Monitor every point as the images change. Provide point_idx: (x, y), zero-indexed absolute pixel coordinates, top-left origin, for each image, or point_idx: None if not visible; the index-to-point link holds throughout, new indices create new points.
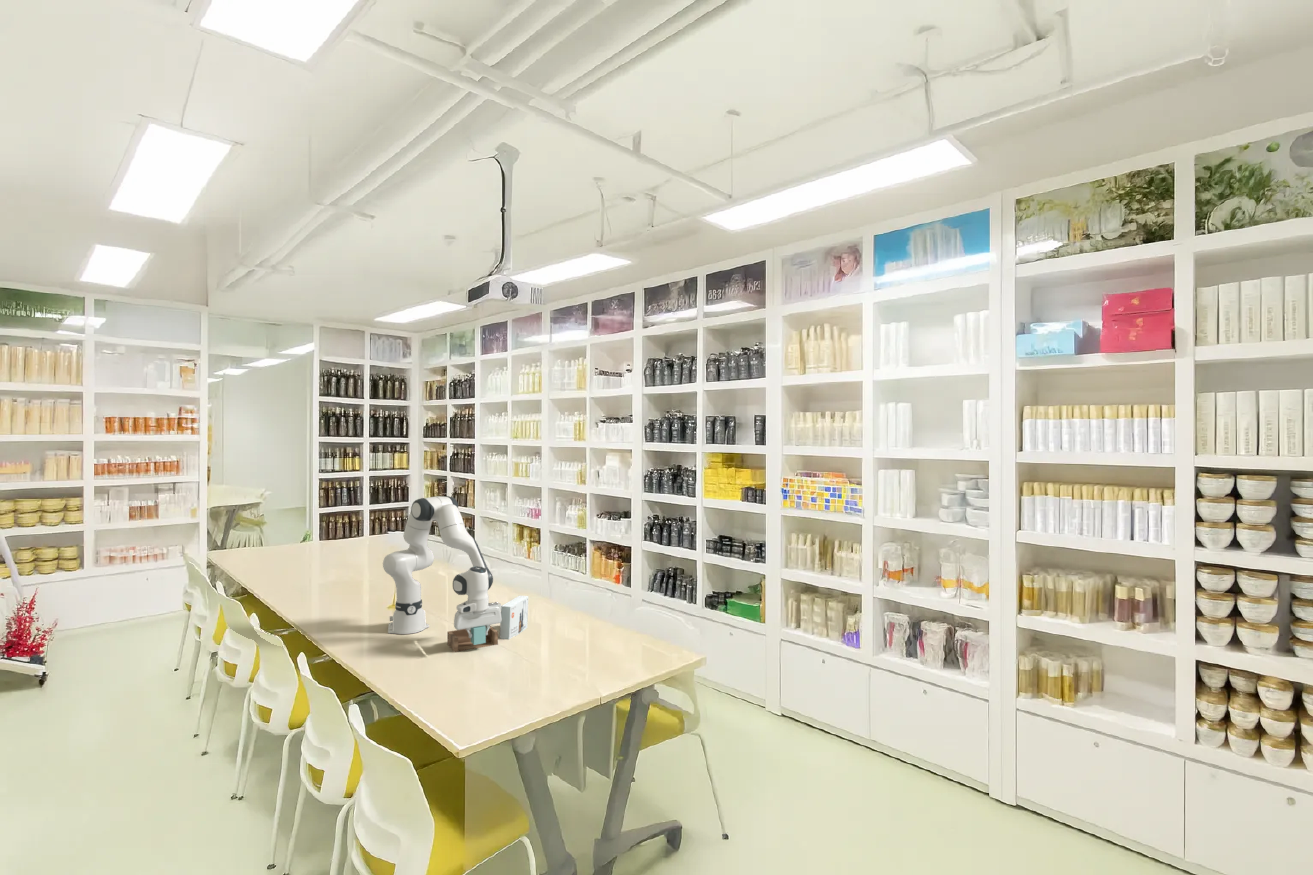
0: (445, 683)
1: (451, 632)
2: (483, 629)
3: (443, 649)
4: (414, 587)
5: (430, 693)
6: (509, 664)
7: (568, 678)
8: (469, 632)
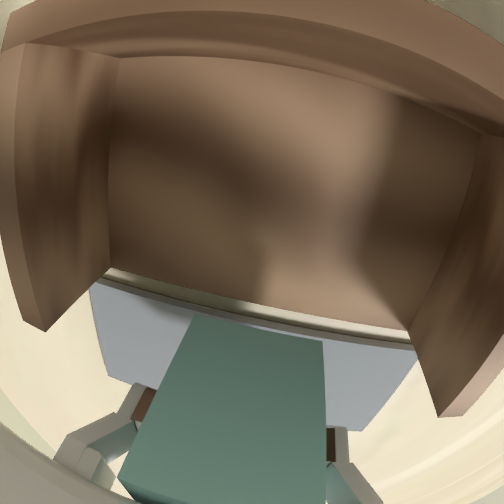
0: (72, 429)
1: (16, 65)
2: None
3: None
4: None
5: (51, 428)
6: None
7: None
8: (115, 450)
